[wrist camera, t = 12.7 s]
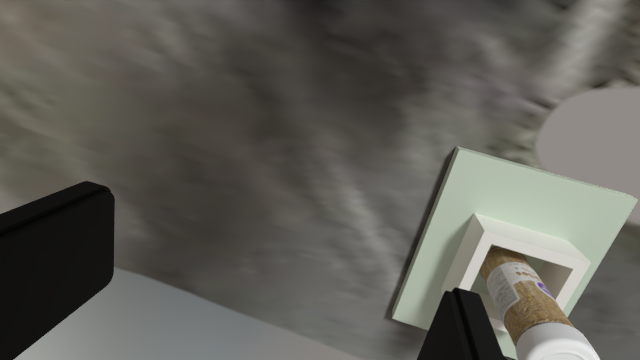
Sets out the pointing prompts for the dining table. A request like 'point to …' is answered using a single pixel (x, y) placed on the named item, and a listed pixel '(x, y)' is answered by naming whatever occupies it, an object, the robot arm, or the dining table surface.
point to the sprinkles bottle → (531, 310)
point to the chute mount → (509, 235)
